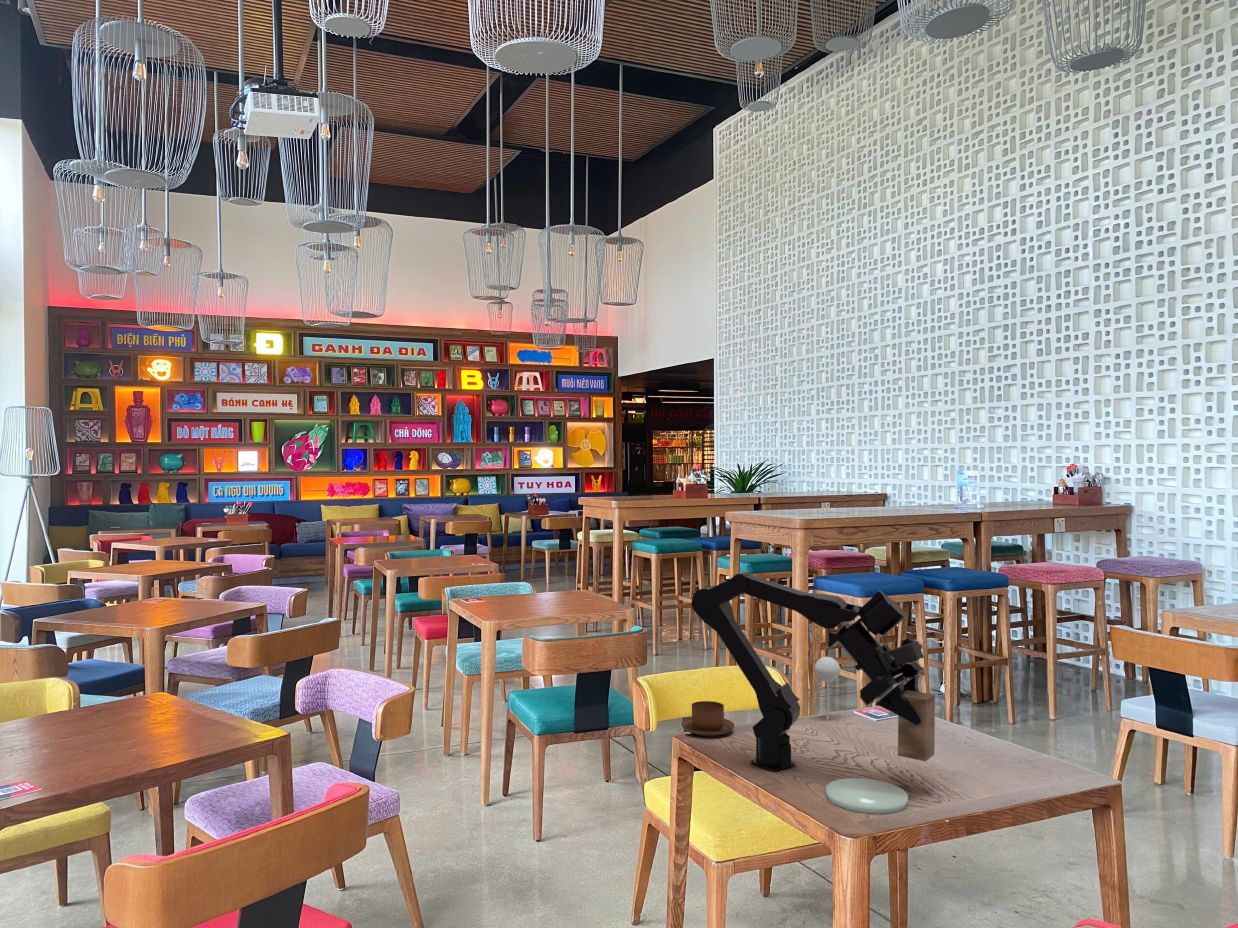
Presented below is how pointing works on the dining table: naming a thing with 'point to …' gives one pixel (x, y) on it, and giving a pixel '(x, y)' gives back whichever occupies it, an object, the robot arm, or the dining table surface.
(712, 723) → the cup and saucer
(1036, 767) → the dining table surface
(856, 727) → the dining table surface
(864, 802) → the dish
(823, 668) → the lollipop
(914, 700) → the walnut block
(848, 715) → the dining table surface
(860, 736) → the dining table surface
